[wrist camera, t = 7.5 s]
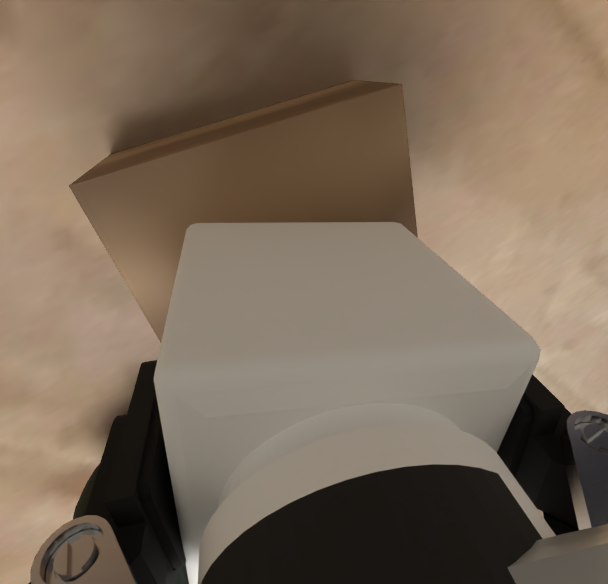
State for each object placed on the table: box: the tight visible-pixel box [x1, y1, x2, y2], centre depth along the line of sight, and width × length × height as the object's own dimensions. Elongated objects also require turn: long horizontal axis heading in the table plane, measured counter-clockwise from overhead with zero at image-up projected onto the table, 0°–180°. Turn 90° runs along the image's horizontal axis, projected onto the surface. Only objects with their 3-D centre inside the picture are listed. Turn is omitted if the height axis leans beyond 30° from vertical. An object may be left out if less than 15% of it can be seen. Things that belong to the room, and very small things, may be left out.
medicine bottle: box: [154, 222, 556, 584], centre depth 9 cm, size 7×7×12 cm
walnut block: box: [69, 80, 418, 342], centre depth 19 cm, size 12×12×6 cm
